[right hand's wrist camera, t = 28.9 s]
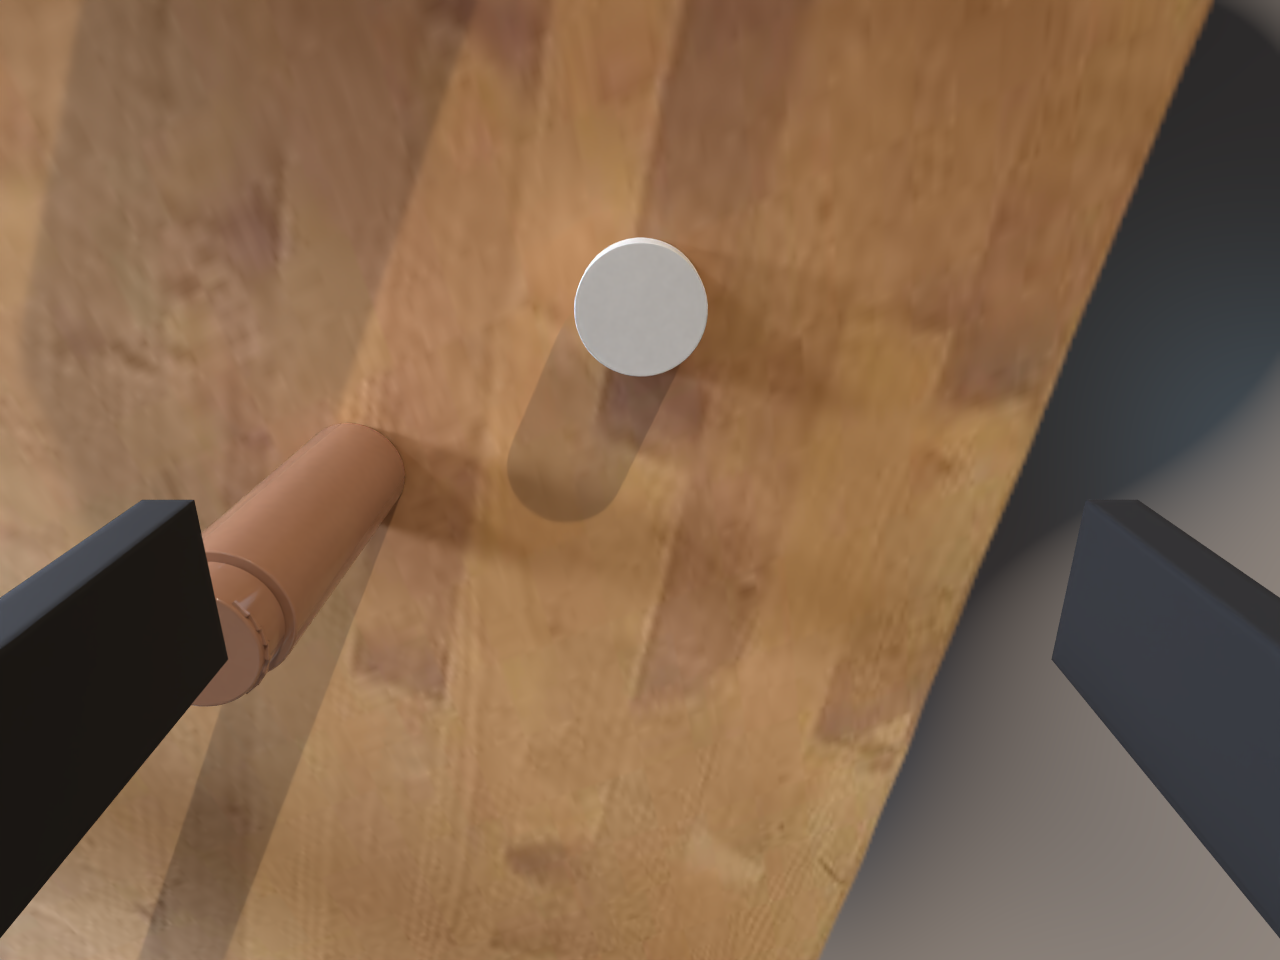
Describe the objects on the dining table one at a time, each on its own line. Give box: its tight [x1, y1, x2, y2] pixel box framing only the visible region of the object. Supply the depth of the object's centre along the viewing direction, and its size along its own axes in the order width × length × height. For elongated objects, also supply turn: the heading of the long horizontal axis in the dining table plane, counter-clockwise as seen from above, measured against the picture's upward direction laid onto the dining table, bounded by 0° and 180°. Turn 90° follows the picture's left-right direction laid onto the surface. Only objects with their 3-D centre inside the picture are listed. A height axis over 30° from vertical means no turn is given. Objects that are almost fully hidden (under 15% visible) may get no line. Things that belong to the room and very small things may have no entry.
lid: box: [574, 238, 708, 377], centre depth 36 cm, size 6×6×2 cm
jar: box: [191, 423, 405, 706], centre depth 33 cm, size 5×5×16 cm
